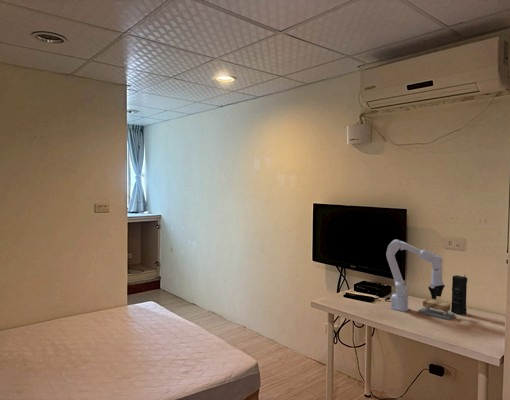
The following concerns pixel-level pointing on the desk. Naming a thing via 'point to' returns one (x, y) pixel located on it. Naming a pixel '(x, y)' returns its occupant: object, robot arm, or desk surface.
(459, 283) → the portable radio
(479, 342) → the desk surface
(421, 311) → the peg stand
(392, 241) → the robot arm
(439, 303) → the shelf board
